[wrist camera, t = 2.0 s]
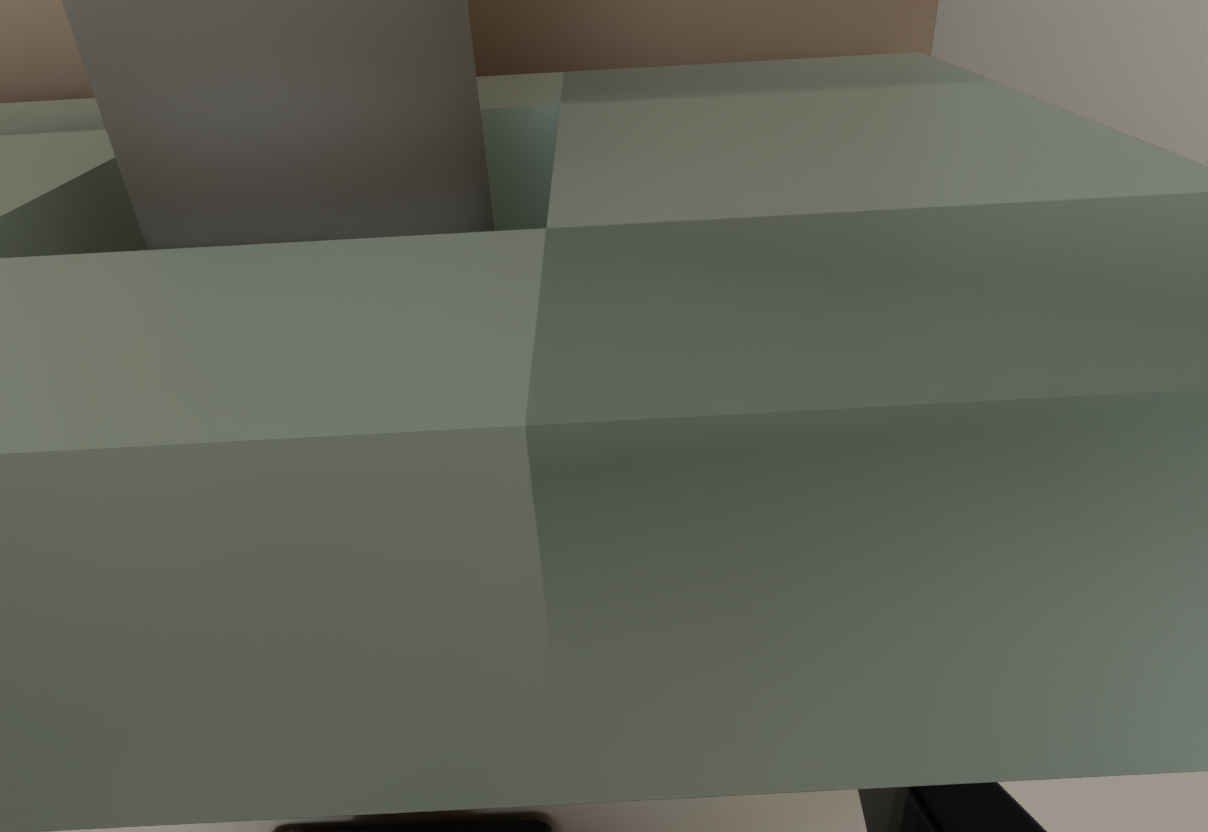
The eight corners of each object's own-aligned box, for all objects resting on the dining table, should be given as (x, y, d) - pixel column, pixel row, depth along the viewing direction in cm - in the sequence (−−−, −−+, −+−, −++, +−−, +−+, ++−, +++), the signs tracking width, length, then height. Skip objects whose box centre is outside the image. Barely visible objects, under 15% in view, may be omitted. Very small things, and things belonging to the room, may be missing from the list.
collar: (895, 234, 10) (1414, 759, 4) (-26, 284, 10) (-1020, 886, 4) (919, 51, 9) (1695, 360, 3) (-109, 108, 9) (-1660, 543, 3)
